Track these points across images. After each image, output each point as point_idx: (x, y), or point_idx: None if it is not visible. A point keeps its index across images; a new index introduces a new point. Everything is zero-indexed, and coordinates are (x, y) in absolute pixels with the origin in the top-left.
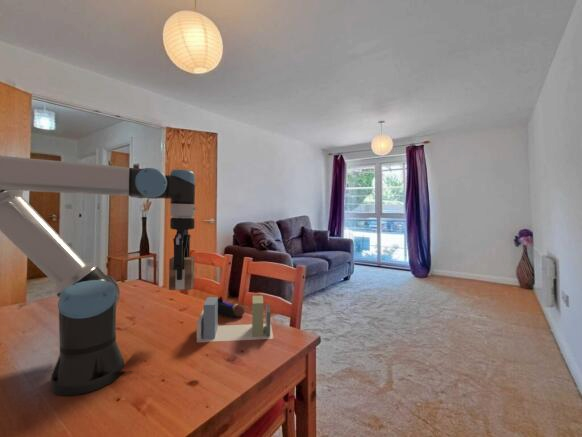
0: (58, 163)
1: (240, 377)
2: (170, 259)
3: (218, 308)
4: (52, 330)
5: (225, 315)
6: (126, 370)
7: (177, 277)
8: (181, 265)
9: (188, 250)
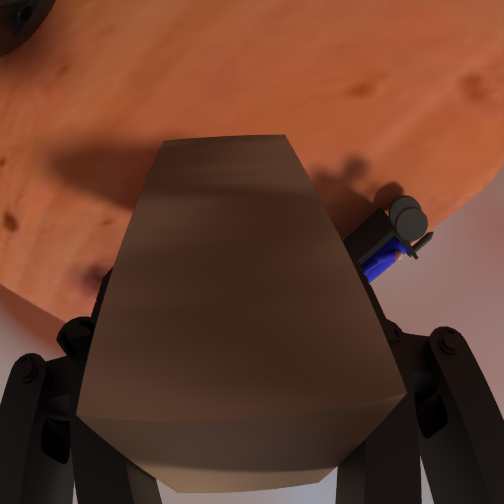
0: None
1: (48, 292)
2: (88, 421)
3: (374, 233)
4: None
5: (351, 241)
6: (21, 52)
7: (103, 289)
8: (47, 424)
9: (438, 498)
